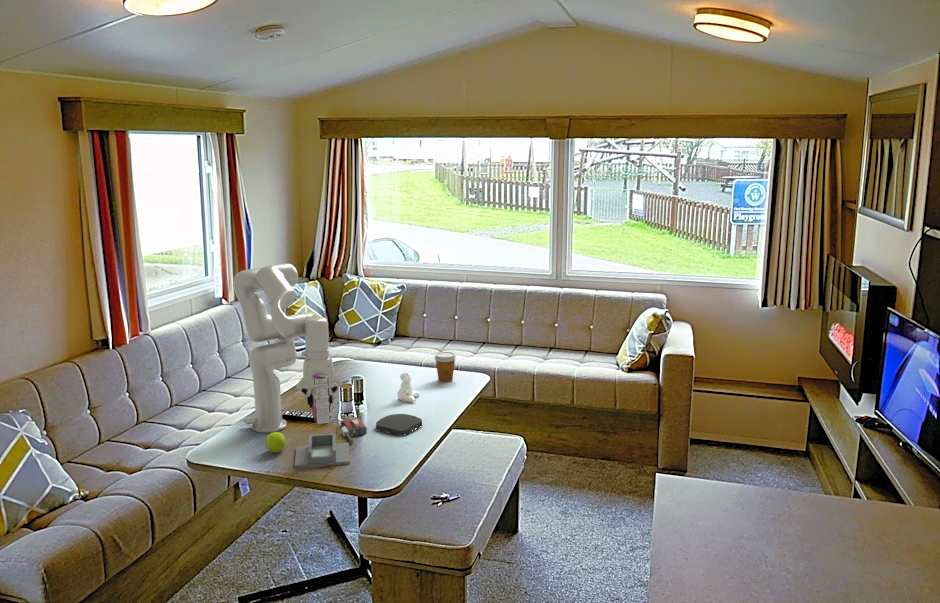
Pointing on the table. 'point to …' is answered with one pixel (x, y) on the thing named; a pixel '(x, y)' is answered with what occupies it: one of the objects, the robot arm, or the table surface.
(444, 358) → the disposable coffee cup
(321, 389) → the candy bar box
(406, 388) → the sitting furry creature
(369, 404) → the table surface
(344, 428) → the walkie-talkie
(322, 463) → the dock
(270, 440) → the tennis ball
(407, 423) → the media streaming box
